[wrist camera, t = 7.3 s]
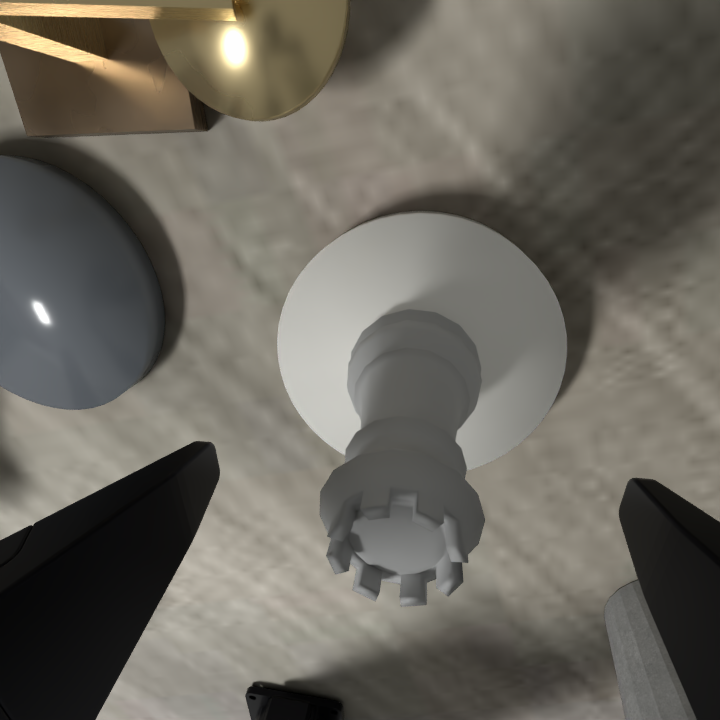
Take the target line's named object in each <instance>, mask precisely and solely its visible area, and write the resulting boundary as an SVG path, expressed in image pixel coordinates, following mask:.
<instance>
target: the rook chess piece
mask: <svg viewBox="0 0 720 720" xmlns="http://www.w3.org/2000/svg"><path fill="white" fill-rule="evenodd" d="M480 373H481V365H480V361H479V357H478V352H477V348H476V345H475V344H474V342H473V341H472V340H471V339H470V337H469V336H468V335H467V334H466V332H465V331H464V330H463V329H462V327H461V326H460V325H459V324H457V323H455V322H453V321H451V320H449V319H448V318H446V317H444V316H442V315H440V314H438V313H436V312H430V311H421V310H413V309H407V310H403V311H399V312H395V313H392V314H388V315H384V316H382V317H380V318H379V319H378V320H377V321H375V322H374V323H373V324H371V325H370V326H369V327H367V328H366V329H365V330H363V331H362V333H361V335H360V337H359V339H358V340H357V342H356V344H355V346H354V348H353V350H352V351H351V360H350V361H349V363H348V379H347V389H348V393H349V396H350V398H351V401H352V404H353V406H354V409H355V411H356V413H357V414H358V415H359V417H360V420H361V429H360V430H359V431H357V432H356V433H355V435H354V436H353V438H352V440H351V441H350V443H349V444H348V446H347V448H346V452H345V464H343V465H341V466H340V467H338V468H337V469H335V470H333V472H332V474H331V475H330V477H329V479H328V480H327V482H326V483H325V485H324V487H323V488H322V490H321V491H320V517H321V519H322V521H323V523H324V526H325V528H326V530H327V532H328V536H327V537H330V538H331V541H330V544H329V548H328V552H327V555H326V556H327V558H328V560H329V562H330V564H331V566H332V568H333V571H334V573H335V574H339V573H343V572H347V571H349V566H350V563H351V564H352V565H353V566H354V567H355V568H356V569H357V570H356V575H355V580H354V585H353V591H355V592H357V593H359V594H361V595H363V596H365V597H367V598H369V599H371V600H373V601H376V599H377V597H378V595H379V592H380V585H381V581H387V582H392V583H397V584H401V586H400V603H401V607H402V606H418V605H426V604H427V582H430V581H432V580H435V579H436V588H437V589H438V590H440V591H441V592H443V593H444V594H445V595H447V596H449V595H450V594H451V593H452V592H453V591H454V590H456V589H457V588H458V587H459V586H460V585H461V584H462V583H463V571H462V562H465V563H468V554H469V553H470V552H471V551H472V550H473V549H474V548H475V547H476V546H477V545H478V544H479V540H480V537H481V533H482V529H483V526H484V522H485V518H484V514H483V510H482V507H481V503H480V500H479V496H478V494H477V492H476V491H475V490H474V489H473V488H472V487H471V486H470V485H469V484H468V482H467V481H466V480H465V475H466V471H467V466H466V463H465V459H464V456H463V452H462V448H461V447H460V446H459V445H458V444H457V443H456V435H457V430H458V429H459V428H461V427H462V425H463V424H464V423H465V421H466V420H467V419H468V418H469V416H470V415H471V414H472V412H473V411H474V410H475V408H476V405H477V401H478V397H479V392H480V388H481V383H482V379H481V375H480Z"/></svg>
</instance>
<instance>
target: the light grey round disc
mask: <svg viewBox="0 0 720 720" xmlns="http://www.w3.org/2000/svg"><path fill="white" fill-rule="evenodd" d="M407 309H413V310H421V311H430V312H436V313H438V314H440V315H442V316H444V317H446V318H448V319H449V320H451V321H453V322H455V323H457V324H459V325H460V326H461V327H462V329H463V330H464V331H465V332H466V334H467V335H468V336H469V337H470V339H471V340H472V341H473V342H474V344H475V345H476V348H477V352H478V357H479V361H480V365H481V373H480V375H481V379H482V383H481V388H480V392H479V397H478V401H477V405H476V408H475V410H474V411H473V412H472V414H471V415H470V416H469V418H468V419H467V420H466V421H465V423H464V424H463V425H462V427H461V428H459V429H458V430H457V435H456V443H457V444H458V445H459V446H460V447H461V448H462V452H463V456H464V459H465V463H466V466H467V470H471V469H474V468H477V467H479V466H482V465H484V464H487V463H489V462H491V461H493V460H495V459H497V458H499V457H501V456H502V455H504V454H506V453H507V452H509V451H510V450H512V449H513V448H514V447H516V446H517V445H519V444H520V443H521V442H522V441H523V440H524V439H525V438H526V437H528V436H529V435H530V434H531V433H532V432H533V431H534V429H535V428H536V427H537V426H538V425H539V424H540V422H541V421H542V420H543V419H544V417H545V416H546V414H547V412H548V411H549V409H550V408H551V406H552V405H553V402H554V400H555V398H556V396H557V394H558V392H559V389H560V386H561V383H562V379H563V376H564V373H565V366H566V359H567V333H566V328H565V322H564V317H563V314H562V311H561V308H560V305H559V302H558V299H557V297H556V295H555V293H554V292H553V290H552V288H551V286H550V284H549V282H548V280H547V279H546V278H545V277H544V275H543V274H542V273H541V271H540V270H539V269H538V267H537V266H536V265H535V264H534V263H533V262H532V261H531V260H530V259H529V258H528V257H527V256H526V255H525V254H524V253H523V252H522V251H521V250H520V249H519V248H518V247H517V246H516V245H515V244H514V243H512V242H511V241H509V240H508V239H507V238H505V237H504V236H503V235H501V234H500V233H498V232H497V231H495V230H493V229H491V228H489V227H487V226H485V225H483V224H482V223H480V222H477V221H474V220H471V219H468V218H465V217H463V216H459V215H454V214H449V213H444V212H436V211H409V212H399V213H394V214H390V215H385V216H381V217H378V218H375V219H372V220H370V221H367V222H364V223H362V224H360V225H358V226H356V227H354V228H353V229H351V230H349V231H347V232H345V233H344V234H343V235H341V236H340V237H338V238H337V239H336V240H334V241H333V242H332V243H330V244H329V245H327V246H326V247H325V248H323V249H322V250H321V251H320V252H319V253H318V254H317V255H316V256H315V257H314V258H313V259H312V260H311V261H310V262H309V263H308V264H307V266H306V267H305V268H304V269H303V271H302V272H301V273H300V275H299V276H298V277H297V279H296V281H295V283H294V284H293V286H292V288H291V290H290V291H289V294H288V296H287V299H286V301H285V304H284V306H283V309H282V313H281V318H280V322H279V328H278V339H277V347H278V360H279V366H280V371H281V375H282V378H283V382H284V385H285V388H286V390H287V392H288V394H289V396H290V399H291V401H292V403H293V404H294V406H295V408H296V409H297V411H298V412H299V414H300V415H301V417H302V418H303V419H304V421H305V422H306V423H307V424H308V425H309V427H310V428H311V429H312V430H313V431H314V432H315V433H316V434H317V435H318V436H319V437H320V438H321V439H322V440H324V441H325V442H326V443H327V444H329V445H330V446H331V447H333V448H334V449H335V450H337V451H338V452H340V453H342V454H343V455H345V452H346V448H347V446H348V444H349V443H350V441H351V440H352V438H353V436H354V435H355V433H356V432H357V431H359V430H360V429H361V420H360V417H359V415H358V414H357V413H356V411H355V409H354V406H353V404H352V401H351V398H350V396H349V393H348V389H347V379H348V363H349V361H350V360H351V351H352V350H353V348H354V346H355V344H356V342H357V340H358V339H359V337H360V335H361V333H362V331H363V330H365V329H366V328H367V327H369V326H370V325H371V324H373V323H374V322H375V321H377V320H378V319H379V318H380V317H382V316H384V315H388V314H392V313H395V312H399V311H403V310H407Z"/></svg>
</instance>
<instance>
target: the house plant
mask: <svg viewBox="0 0 720 720" xmlns="http://www.w3.org/2000/svg"><path fill="white" fill-rule="evenodd" d="M604 618H605V623H606V628H607V632H608V637H609V642H610V647H611V652H612V656H613V661H614V666H615V671H616V676H617V680H618V685H619V690H620V695H621V700H622V704H623V709H624V714H625V719H626V720H696V717H695V715H694V713H693V710H692V708H691V706H690V703H689V701H688V699H687V696H686V694H685V692H684V689H683V687H682V685H681V682H680V680H679V678H678V675H677V673H676V671H675V668H674V666H673V664H672V661H671V659H670V657H669V654H668V652H667V650H666V647H665V645H664V643H663V640H662V638H661V636H660V633H659V631H658V629H657V626H656V624H655V622H654V619H653V617H652V615H651V612H650V610H649V608H648V605H647V603H646V600H645V598H644V595H643V592H642V590H641V587H640V584H639V581H638V580H637V581H634V582H631V583H629V584H628V585H626V586H624V587H622V588H620V589H619V590H618V591H617V592H615V593H614V594H613V595H612V596H611V597H610V598H609V600H608V602H607V604H606V606H605V612H604Z"/></svg>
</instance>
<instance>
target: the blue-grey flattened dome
mask: <svg viewBox="0 0 720 720" xmlns="http://www.w3.org/2000/svg"><path fill="white" fill-rule="evenodd" d="M164 328H165V314H164V305H163V299H162V293H161V290H160V286H159V283H158V279H157V276H156V274H155V271H154V269H153V267H152V264H151V262H150V259H149V258H148V256H147V254H146V252H145V250H144V248H143V246H142V245H141V243H140V241H139V240H138V238H137V237H136V236H135V234H134V233H133V231H132V230H131V228H130V227H129V226H128V224H127V223H126V222H125V221H124V219H123V218H122V217H121V216H120V215H119V213H118V212H117V211H116V210H115V209H114V208H113V207H112V206H111V205H110V204H109V203H108V202H107V201H106V200H105V199H104V198H103V197H102V196H100V195H99V194H98V193H97V192H95V191H94V190H93V189H92V188H90V187H89V186H88V185H87V184H85V183H84V182H82V181H80V180H79V179H77V178H76V177H74V176H73V175H71V174H69V173H67V172H65V171H63V170H61V169H59V168H57V167H55V166H53V165H51V164H48V163H45V162H42V161H39V160H36V159H31V158H27V157H22V156H8V155H0V386H1V387H3V388H5V389H6V390H8V391H10V392H12V393H14V394H16V395H18V396H20V397H22V398H24V399H27V400H29V401H32V402H35V403H38V404H41V405H45V406H49V407H53V408H60V409H70V410H81V409H88V408H94V407H97V406H101V405H104V404H106V403H108V402H110V401H112V400H114V399H116V398H117V397H118V396H120V395H121V394H122V393H124V392H125V391H127V390H128V389H129V388H131V387H132V386H133V385H135V384H136V383H138V382H139V381H140V380H142V379H143V377H144V376H145V375H146V374H147V373H148V372H149V371H150V370H151V368H152V366H153V365H154V363H155V362H156V360H157V357H158V355H159V353H160V350H161V346H162V342H163V338H164Z"/></svg>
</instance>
